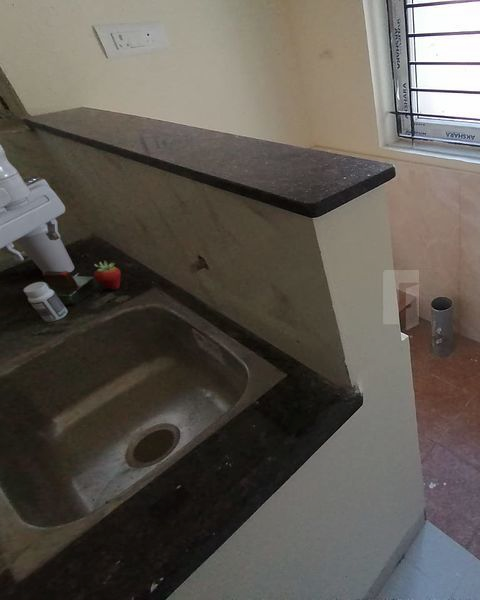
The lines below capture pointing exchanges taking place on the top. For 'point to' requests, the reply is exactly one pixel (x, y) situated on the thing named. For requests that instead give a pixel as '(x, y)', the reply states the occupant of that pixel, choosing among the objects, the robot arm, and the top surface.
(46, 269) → the coffee cup
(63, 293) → the dial panel
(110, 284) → the fruit
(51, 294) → the pill bottle
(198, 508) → the top surface
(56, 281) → the dark red block
